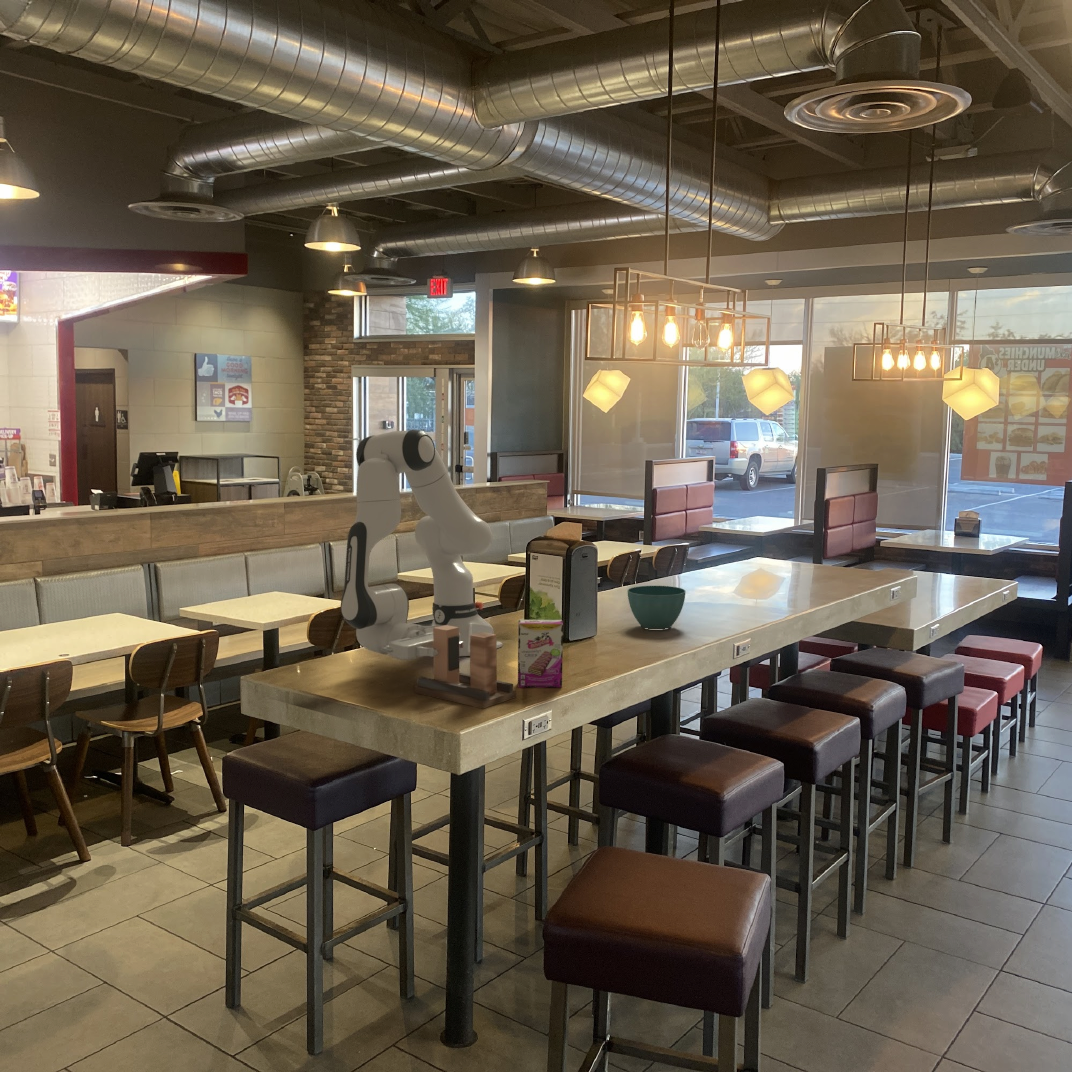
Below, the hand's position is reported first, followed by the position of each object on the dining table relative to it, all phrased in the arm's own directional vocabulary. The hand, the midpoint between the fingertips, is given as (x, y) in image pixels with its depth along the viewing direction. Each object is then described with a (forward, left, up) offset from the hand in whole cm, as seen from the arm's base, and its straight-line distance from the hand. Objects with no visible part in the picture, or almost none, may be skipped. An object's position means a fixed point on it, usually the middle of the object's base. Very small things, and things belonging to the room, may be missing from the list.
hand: (448, 649), depth 247 cm
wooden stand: (0, +5, -10) cm, 12 cm away
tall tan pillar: (0, -1, -9) cm, 9 cm away
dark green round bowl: (-96, 0, -11) cm, 97 cm away
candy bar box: (-18, +14, -11) cm, 25 cm away
